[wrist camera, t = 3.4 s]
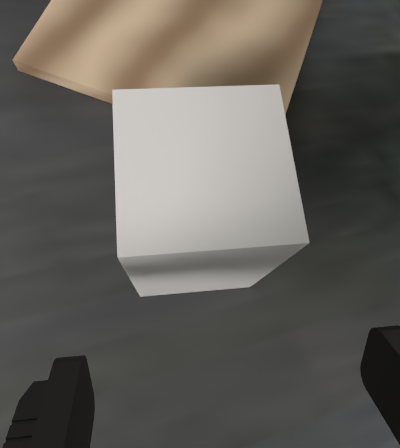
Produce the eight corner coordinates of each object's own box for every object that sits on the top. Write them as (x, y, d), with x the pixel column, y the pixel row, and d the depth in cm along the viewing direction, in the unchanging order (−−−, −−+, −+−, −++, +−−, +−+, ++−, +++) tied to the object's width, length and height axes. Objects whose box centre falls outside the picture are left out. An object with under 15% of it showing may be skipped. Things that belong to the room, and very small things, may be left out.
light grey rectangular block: (140, 296, 22) (117, 257, 12) (135, 193, 23) (112, 89, 14) (249, 287, 22) (309, 242, 13) (236, 187, 24) (279, 84, 15)
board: (18, 70, 26) (12, 60, 25) (123, -95, 31) (121, -109, 30) (269, 159, 25) (273, 151, 24) (329, -26, 31) (335, -38, 30)
